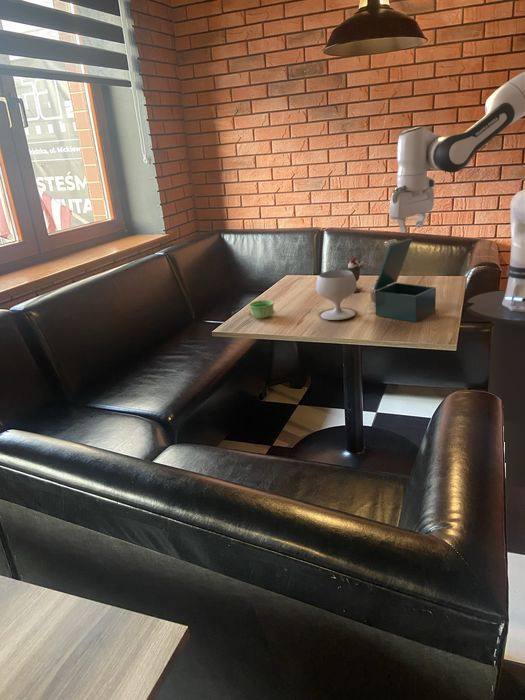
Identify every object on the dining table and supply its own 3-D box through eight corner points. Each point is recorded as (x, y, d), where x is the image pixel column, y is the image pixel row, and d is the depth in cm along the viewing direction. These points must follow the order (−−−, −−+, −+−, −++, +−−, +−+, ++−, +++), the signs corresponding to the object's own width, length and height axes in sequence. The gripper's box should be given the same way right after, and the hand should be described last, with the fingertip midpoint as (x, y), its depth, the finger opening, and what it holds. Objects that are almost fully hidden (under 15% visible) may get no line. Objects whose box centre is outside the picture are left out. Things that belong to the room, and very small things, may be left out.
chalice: (326, 309, 198) (324, 269, 193) (363, 310, 191) (361, 269, 186) (312, 320, 187) (308, 278, 181) (350, 322, 180) (348, 279, 175)
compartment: (435, 312, 183) (436, 287, 180) (415, 322, 175) (416, 296, 172) (395, 306, 193) (395, 282, 190) (375, 315, 186) (375, 290, 182)
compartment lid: (412, 239, 180) (400, 233, 183) (391, 245, 172) (379, 239, 175) (396, 281, 190) (385, 275, 192) (376, 290, 182) (365, 283, 185)
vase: (388, 305, 195) (387, 282, 192) (369, 305, 197) (368, 282, 194) (390, 300, 201) (390, 277, 198) (372, 300, 203) (371, 277, 200)
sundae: (350, 293, 215) (348, 256, 209) (344, 290, 221) (342, 254, 215) (365, 290, 216) (364, 253, 211) (358, 287, 222) (357, 251, 217)
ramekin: (278, 311, 200) (277, 299, 199) (269, 318, 193) (268, 307, 191) (256, 310, 204) (255, 299, 202) (246, 318, 196) (245, 306, 195)
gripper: (402, 188, 156) (402, 235, 161) (437, 180, 169) (437, 224, 173) (383, 188, 160) (384, 235, 165) (419, 180, 173) (419, 224, 178)
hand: (411, 229), depth 169 cm, fingers open, 8 cm apart
